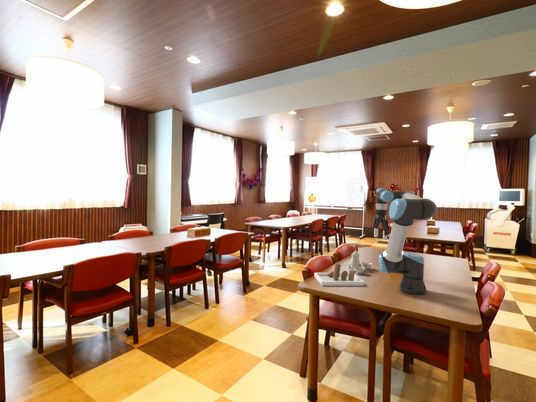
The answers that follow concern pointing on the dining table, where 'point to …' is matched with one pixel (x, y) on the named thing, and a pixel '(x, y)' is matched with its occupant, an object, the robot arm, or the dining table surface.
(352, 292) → the dining table surface
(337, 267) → the wooden block set
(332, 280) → the pocket tray
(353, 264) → the chinaware
